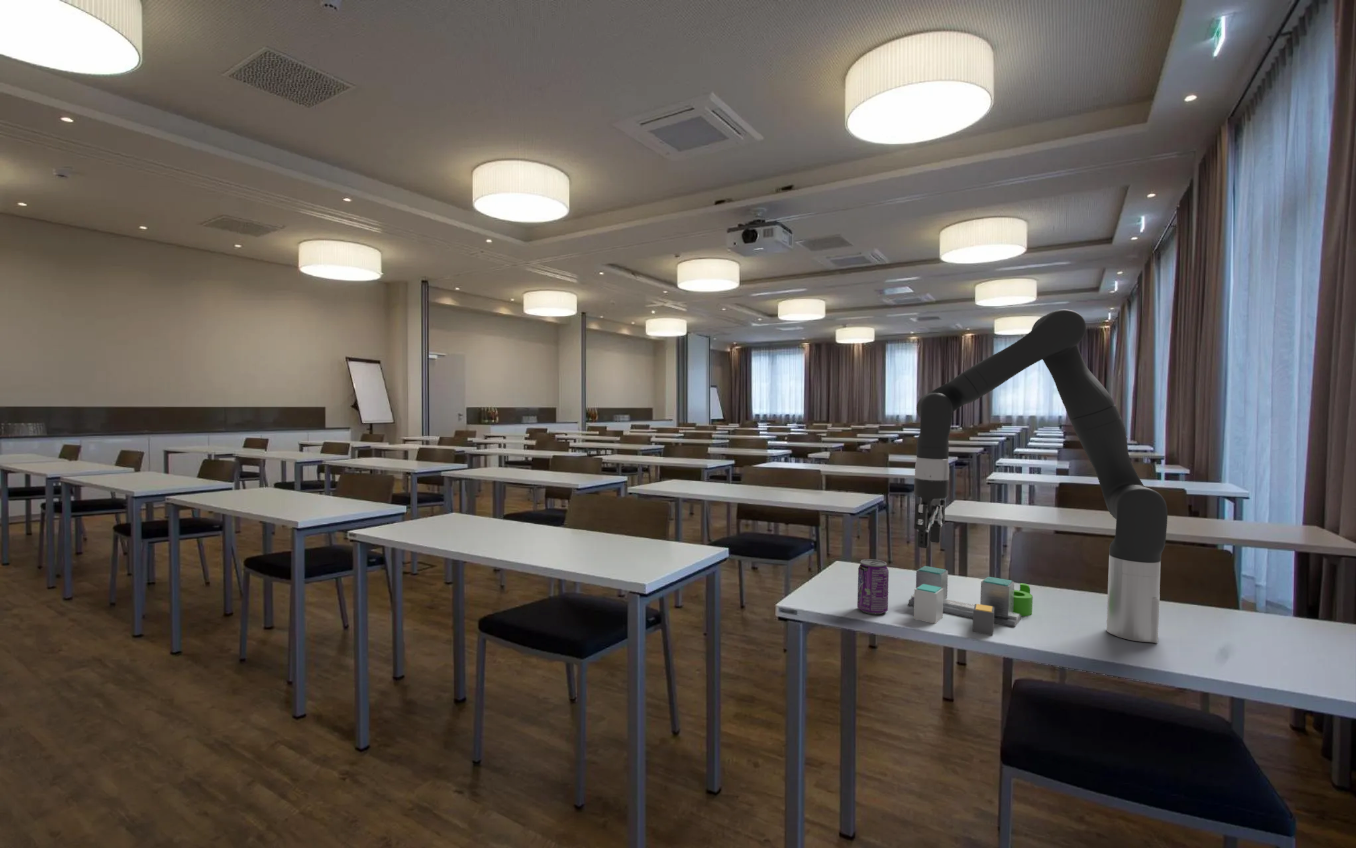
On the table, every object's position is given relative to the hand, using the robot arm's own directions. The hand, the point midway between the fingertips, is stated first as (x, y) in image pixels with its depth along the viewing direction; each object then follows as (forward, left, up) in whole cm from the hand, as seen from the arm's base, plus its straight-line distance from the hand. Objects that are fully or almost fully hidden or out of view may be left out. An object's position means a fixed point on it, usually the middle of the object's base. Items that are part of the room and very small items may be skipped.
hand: (929, 544), depth 149 cm
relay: (-13, +2, -17) cm, 21 cm away
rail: (-6, -9, -17) cm, 20 cm away
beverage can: (+11, +6, -17) cm, 21 cm away
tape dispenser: (-15, -22, -18) cm, 32 cm away
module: (-1, +2, -17) cm, 17 cm away
